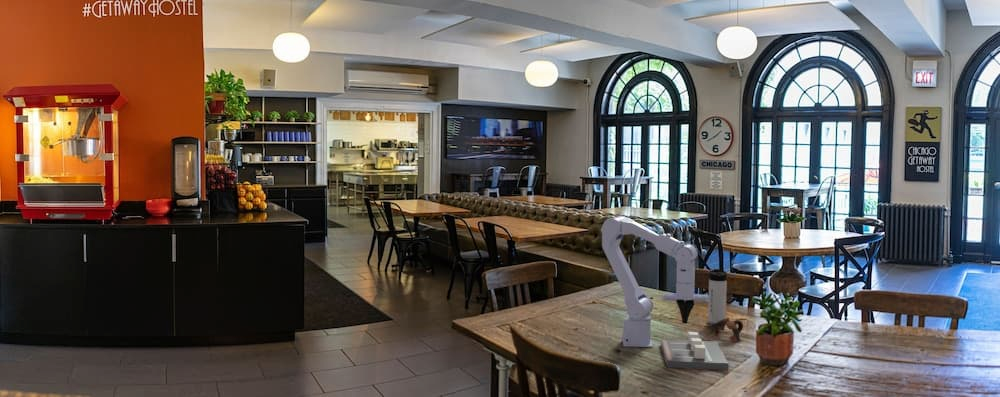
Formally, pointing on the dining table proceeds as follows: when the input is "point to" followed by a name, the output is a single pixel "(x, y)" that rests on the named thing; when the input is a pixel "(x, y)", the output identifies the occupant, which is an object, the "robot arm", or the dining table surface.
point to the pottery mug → (730, 325)
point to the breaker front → (699, 351)
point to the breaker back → (692, 336)
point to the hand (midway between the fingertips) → (684, 322)
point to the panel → (683, 356)
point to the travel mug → (717, 296)
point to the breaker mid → (695, 342)
